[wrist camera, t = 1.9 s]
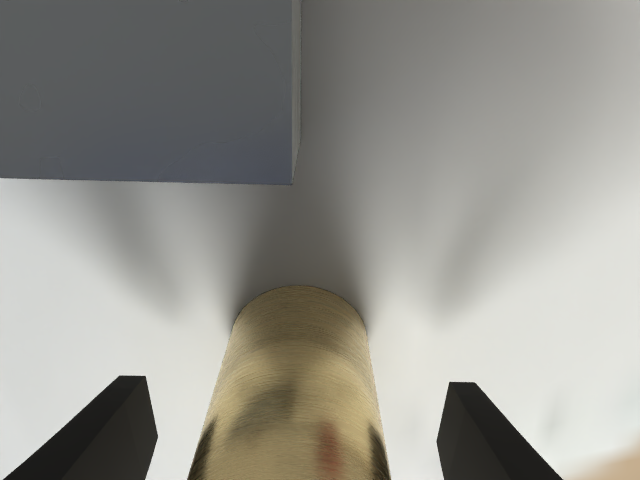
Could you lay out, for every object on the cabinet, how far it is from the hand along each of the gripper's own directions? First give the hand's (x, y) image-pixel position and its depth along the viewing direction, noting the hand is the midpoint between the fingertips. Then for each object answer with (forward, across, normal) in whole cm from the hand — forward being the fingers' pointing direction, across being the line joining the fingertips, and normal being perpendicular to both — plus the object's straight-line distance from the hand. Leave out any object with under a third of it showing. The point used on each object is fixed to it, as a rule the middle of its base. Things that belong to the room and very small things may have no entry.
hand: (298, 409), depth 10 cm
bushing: (+2, 0, 0) cm, 3 cm away
